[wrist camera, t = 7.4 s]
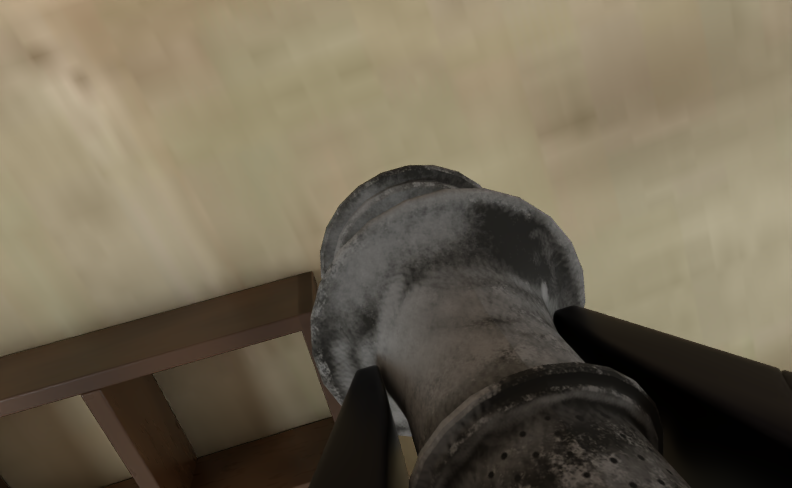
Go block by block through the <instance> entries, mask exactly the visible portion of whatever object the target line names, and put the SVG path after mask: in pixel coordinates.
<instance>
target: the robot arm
mask: <svg viewBox="0 0 792 488" xmlns="http://www.w3.org/2000/svg"><path fill="white" fill-rule="evenodd" d="M553 323H554V325H555V328H556V330H557V332H558V334H559V335H560V336H561V337H562V338H563V339H564V340H565V342H566V343H567V344H568V345H569V346H570V347H571V348H572V349H573V350H574V351H575V352H576V353H577V354H578V356H579V357H580V358H581V359H582V360H583V361H584V362H585V363H588V364H594V365H600V366H606V367H610V368H612V369H614V370H616V371H618V372H620V373H621V374H623V375H625V376H627V377H629V378H631V379H633V380H635V381H636V382H637V383H638V384H639V385H640V387H641V388H642V389H643V390H644V391H645V392H646V393H647V394H648V396H649V397H650V398H651V399H652V400H653V401H654V402H655V403H656V406H657V409H658V412H659V415H660V417H661V420H662V423H663V426H664V451H663V457H664V458H665V459H666V460H667V461H668V463H669V464H670V465H671V466H672V467H673V468H674V469H675V470H676V471H677V473H678V474H679V475H680V476H681V477H682V478H683V479H684V480H685V481H686V482H687V484H688V485H689V486H690V487H691V488H792V372H789V371H786V370H783V371H780V370H779V369H778V368H776V367H773V366H770V365H766V364H763V363H760V362H757V361H753V360H750V359H747V358H744V357H741V356H737V355H734V354H731V353H728V352H724V351H721V350H718V349H715V348H712V347H708V346H705V345H702V344H699V343H695V342H692V341H689V340H686V339H683V338H679V337H676V336H673V335H670V334H666V333H663V332H660V331H657V330H654V329H650V328H647V327H644V326H641V325H637V324H634V323H631V322H628V321H625V320H621V319H618V318H615V317H612V316H608V315H605V314H602V313H599V312H596V311H592V310H589V309H586V308H583V307H579V306H576V305H572V306H568V307H565V308H562V309H558V310H556V311H555V312H554V314H553ZM308 488H409V477H408V472H407V468H406V465H405V461H404V457H403V453H402V449H401V445H400V442H399V438H398V434H397V430H396V426H395V422H394V419H393V415H392V411H391V407H390V403H389V400H388V396H387V393H386V389H385V386H384V383H383V379H382V376H381V372H380V369H379V367H378V366H377V365H372V366H369V367H365V368H362V369H359V370H357V371H356V373H355V375H354V378H353V380H352V382H351V385H350V387H349V390H348V392H347V395H346V397H345V399H344V402H343V404H342V407H341V409H340V412H339V414H338V416H337V419H336V421H335V424H334V426H333V429H332V431H331V433H330V436H329V438H328V441H327V443H326V446H325V448H324V450H323V453H322V455H321V458H320V460H319V463H318V465H317V467H316V470H315V472H314V475H313V477H312V480H311V482H310V484H309V487H308Z"/></svg>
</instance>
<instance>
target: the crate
mask: <svg viewBox="0 0 792 488" xmlns="http://www.w3.org/2000/svg"><path fill="white" fill-rule="evenodd" d="M317 291H318V286H317V283H316V280H315V277H314V274H313V272H312V271H311V272H308V273H304V274H300V275H297V276H294V277H290V278H286V279H283V280H279V281H275V282H272V283H268V284H265V285H261V286H257V287H254V288H250V289H247V290H243V291H239V292H236V293H232V294H228V295H225V296H221V297H218V298H214V299H210V300H207V301H203V302H200V303H196V304H192V305H189V306H185V307H181V308H178V309H174V310H171V311H167V312H163V313H160V314H156V315H153V316H149V317H145V318H142V319H138V320H135V321H131V322H127V323H124V324H120V325H116V326H113V327H109V328H106V329H102V330H98V331H95V332H91V333H88V334H84V335H80V336H77V337H73V338H69V339H66V340H62V341H59V342H55V343H51V344H48V345H44V346H41V347H37V348H33V349H30V350H26V351H22V352H19V353H15V354H12V355H8V356H4V357H1V358H0V417H3V416H7V415H10V414H14V413H17V412H21V411H24V410H27V409H31V408H34V407H38V406H41V405H45V404H48V403H52V402H55V401H59V400H62V399H66V398H69V397H73V396H76V395H80V394H81V397H82V398H83V400H84V401H85V403H86V405H87V406H88V408H89V409H90V411H91V412H92V414H93V416H94V417H95V419H96V420H97V422H98V423H99V425H100V426H101V428H102V430H103V431H104V433H105V434H106V436H107V437H108V439H109V441H110V442H111V444H112V445H113V447H114V448H115V450H116V451H117V453H118V455H119V456H120V458H121V459H122V461H123V462H124V464H125V466H126V467H127V469H128V470H129V472H130V473H131V475H132V476H133V478H132V479H129V480H125V481H122V482H119V483H116V484H112V485H109V486H106V487H103V488H308V487H309V484H310V482H311V480H312V477H313V475H314V472H315V470H316V467H317V465H318V463H319V460H320V458H321V455H322V453H323V450H324V448H325V446H326V443H327V441H328V438H329V436H330V433H331V431H332V429H333V426H334V424H335V421H336V419H337V416H338V414H339V412H340V409H341V407H342V406H341V405H340V404H339V403H338V401H337V400H336V399H335V398H334V396H333V395H332V394H331V393H330V391H329V390H328V389H327V388H326V386H325V385H324V384H323V382H322V379H321V376H320V374H319V371H318V368H317V366H316V363H315V360H314V358H313V355H312V342H311V314H312V310H313V306H314V302H315V299H316V295H317ZM299 331H302V333H303V336H304V339H305V342H306V344H307V347H308V350H309V353H310V356H311V358H312V361H313V364H314V367H315V370H316V372H317V375H318V378H319V381H320V384H321V386H322V389H323V392H324V395H325V398H326V400H327V403H328V406H329V409H330V412H331V414H332V417H331V418H328V419H324V420H321V421H318V422H314V423H311V424H308V425H305V426H301V427H298V428H295V429H292V430H288V431H285V432H282V433H279V434H275V435H272V436H269V437H266V438H262V439H259V440H256V441H253V442H249V443H246V444H243V445H239V446H236V447H233V448H230V449H226V450H223V451H220V452H217V453H213V454H210V455H207V456H204V457H200V458H197V456H196V454H195V452H194V451H193V449H192V447H191V445H190V443H189V441H188V440H187V438H186V436H185V434H184V432H183V430H182V429H181V427H180V425H179V423H178V421H177V419H176V417H175V416H174V414H173V412H172V410H171V408H170V406H169V405H168V403H167V401H166V399H165V397H164V395H163V394H162V392H161V390H160V388H159V386H158V384H157V383H156V381H155V379H154V377H153V375H152V374H153V373H156V372H160V371H163V370H166V369H170V368H173V367H177V366H180V365H184V364H187V363H191V362H194V361H198V360H201V359H205V358H208V357H212V356H215V355H219V354H222V353H226V352H229V351H232V350H236V349H239V348H243V347H246V346H250V345H253V344H257V343H260V342H264V341H267V340H271V339H274V338H278V337H281V336H285V335H288V334H292V333H295V332H299ZM0 488H9V487H8V485H7V484H6V483H5V482H4V480H3V479H2V478H1V477H0Z"/></svg>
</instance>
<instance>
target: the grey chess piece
mask: <svg viewBox="0 0 792 488" xmlns="http://www.w3.org/2000/svg"><path fill="white" fill-rule="evenodd" d="M320 260H321V278H322V280H321V281H320V283H319V287H318V291H317V295H316V299H315V302H314V306H313V310H312V314H311V342H312V355H313V358H314V360H315V363H316V366H317V368H318V371H319V374H320V376H321V379H322V382H323V384H324V385H325V386H326V388H327V389H328V390H329V391H330V393H331V394H332V395H333V396H334V398H335V399H336V400H337V401H338V403H339V404H340V405H341V406H342V404H343V402H344V399H345V397H346V395H347V392H348V390H349V387H350V385H351V382H352V380H353V378H354V375H355V373H356V371H357V370H359V369H362V368H365V367H369V366H372V365H377V366H378V367H379V369H380V372H381V376H382V379H383V383H384V386H385V389H386V393H387V396H388V400H389V403H390V407H391V411H392V415H393V419H394V422H395V426H396V430H397V434H398V435H402V436H412V438H413V442H414V445H415V448H416V452H417V455H418V458H417V461H416V464H415V466H414V469H413V471H412V474H411V477H410V479H409V488H691V487H690V486H689V485H688V484H687V482H686V481H685V480H684V479H683V478H682V477H681V476H680V475H679V474H678V473H677V471H676V470H675V469H674V468H673V467H672V466H671V465H670V464H669V463H668V461H667V460H666V459H665V458H664V457H663V451H664V426H663V423H662V420H661V417H660V415H659V412H658V409H657V406H656V403H655V402H654V401H653V400H652V399H651V398H650V397H649V396H648V394H647V393H646V392H645V391H644V390H643V389H642V388H641V387H640V385H639V384H638V383H637V382H636V381H635V380H633V379H631V378H629V377H627V376H625V375H623V374H621V373H620V372H618V371H616V370H614V369H612V368H610V367H606V366H600V365H594V364H588V363H585V362H584V361H583V360H582V359H581V358H580V357H579V356H578V354H577V353H576V352H575V351H574V350H573V349H572V348H571V347H570V346H569V345H568V344H567V343H566V342H565V340H564V339H563V338H562V337H561V336H560V335H559V334H558V332H557V330H556V328H555V325H554V323H553V314H554V312H555V311H556V310H558V309H562V308H565V307H568V306H572V305H576V306H579V307H583V308H584V305H585V291H584V277H583V269H582V267H581V264H580V262H579V259H578V257H577V254H576V252H575V249H574V247H573V244H572V242H571V241H570V239H569V238H568V237H567V236H566V235H565V233H564V232H563V231H562V230H561V229H560V227H559V226H558V225H557V224H556V223H555V221H554V220H553V219H552V218H551V217H550V216H548V215H547V214H545V213H544V212H542V211H540V210H539V209H537V208H536V207H534V206H532V205H531V204H529V203H528V202H526V201H524V200H523V199H521V198H520V197H516V196H512V195H508V194H504V193H501V192H497V191H493V190H489V189H485V188H482V187H481V186H480V185H479V184H477V183H476V182H474V181H472V180H471V179H469V178H468V177H466V176H464V175H463V174H461V173H459V172H457V171H454V170H450V169H446V168H442V167H439V166H435V165H408V166H404V167H400V168H397V169H393V170H390V171H386V172H382V173H380V174H379V175H377V176H375V177H373V178H372V179H370V180H368V181H367V182H365V183H363V184H361V185H360V186H358V187H357V188H356V189H355V190H354V191H353V192H352V193H351V194H350V195H349V196H348V197H347V198H346V199H345V200H344V201H343V202H342V203H341V204H340V205H339V207H338V208H337V210H336V212H335V214H334V215H333V217H332V219H331V221H330V222H329V224H328V226H327V227H326V231H325V235H324V239H323V243H322V247H321V250H320Z"/></svg>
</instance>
